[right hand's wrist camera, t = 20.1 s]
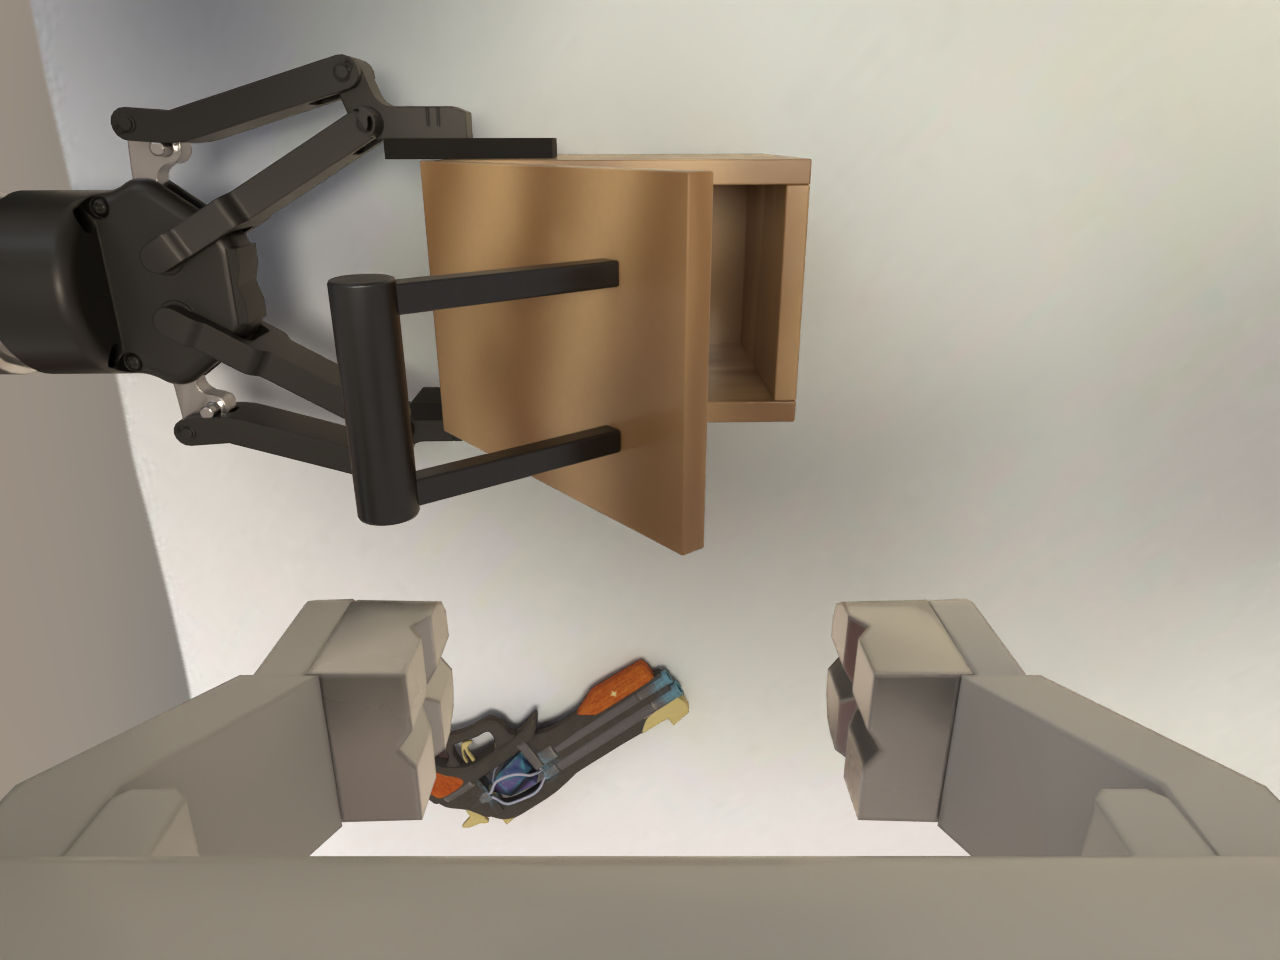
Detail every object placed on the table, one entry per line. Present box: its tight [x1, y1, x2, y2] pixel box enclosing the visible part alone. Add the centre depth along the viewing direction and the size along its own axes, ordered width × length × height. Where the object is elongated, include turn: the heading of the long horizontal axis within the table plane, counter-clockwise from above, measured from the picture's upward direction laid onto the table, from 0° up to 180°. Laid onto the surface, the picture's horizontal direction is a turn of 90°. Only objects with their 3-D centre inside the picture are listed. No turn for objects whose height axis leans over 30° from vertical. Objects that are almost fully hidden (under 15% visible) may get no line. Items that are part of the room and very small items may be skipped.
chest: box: [434, 154, 811, 422], centre depth 38 cm, size 14×10×11 cm
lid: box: [327, 161, 713, 555], centre depth 25 cm, size 14×10×8 cm
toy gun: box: [429, 660, 689, 828], centre depth 52 cm, size 3×19×10 cm
